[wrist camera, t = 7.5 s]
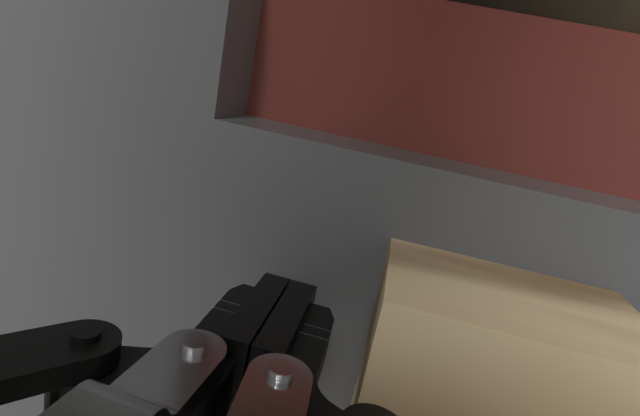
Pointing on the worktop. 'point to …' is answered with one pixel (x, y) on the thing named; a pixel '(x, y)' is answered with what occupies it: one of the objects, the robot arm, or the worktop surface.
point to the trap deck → (301, 156)
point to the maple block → (495, 341)
